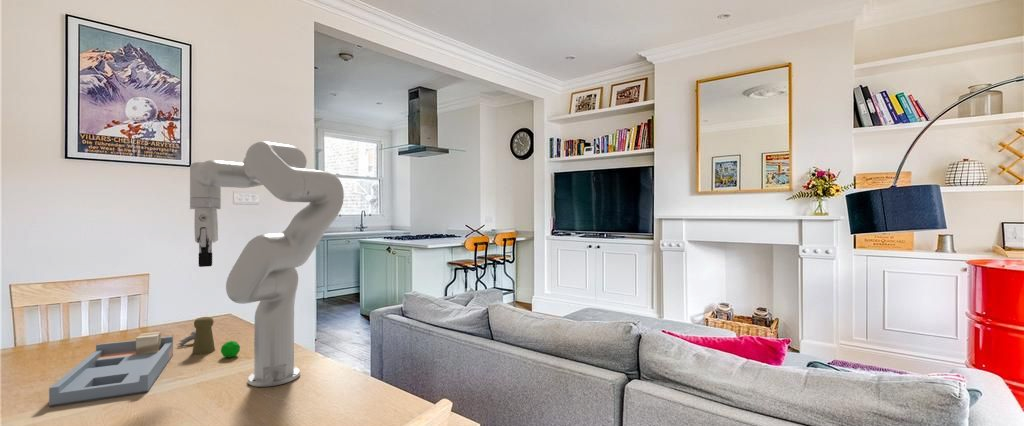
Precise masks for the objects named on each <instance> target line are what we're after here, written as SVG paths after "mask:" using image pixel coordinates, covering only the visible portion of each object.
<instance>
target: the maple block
mask: <svg viewBox="0 0 1024 426" xmlns="http://www.w3.org/2000/svg"><path fill="white" fill-rule="evenodd" d="M161 337H162V331H157V332H153V331H152V332H144V333H139V334H138V335H137V336H136V337H135V340H136V355H140V354H149V353H157V352H158V351H159V350H160V349H161Z"/></svg>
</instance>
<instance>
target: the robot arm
mask: <svg viewBox="0 0 1024 426" xmlns="http://www.w3.org/2000/svg"><path fill="white" fill-rule="evenodd" d="M307 161H308V160H307V157H306V155H305V153H304V152H303V151H302V150H301V149H299V148H298V147H296V146H294V145H290V144H284V143H277V142H271V141H264V140H263V141H257V142H255V143H253V144H251V145H250V147H249V148H248V149H247V150H246V152H245V157H244V159H243V161H242V162H238V161H237V162H236V161H227V160H218V159H217V160H216V159H211V160H205V161H198V162H192V163H191V164H190V166H189V209H190V210H194V223H193V224H194V241H195V243H197V244H198V267H200V268H201V267H212V266H213V251H212V249H213V248H212V247H213V243H216V242H217V241H218V240H219V233H218V232H219V228H218V227H219V226H218V225H219V224H218V210H221V209H222V208H221V207H222V206H221V204H222V203H221V202H222V199H221V197H222V196H221V193H222V191H221V190H222V188H240V189H246V188H254V187H260V186H264V188H266V190H267V191H269V193H271V195H272V196H274V197H275V198H276V199H278V200H280V201H283V202H287V203H309V204H308V205H306V206H305V207H303V208H302V209H301V210H299V211H298V212H297V213H295V215H294V216H293V218H292V219H291V221H290V223H289V224H288V226H287V227H286V228H285V229H284V230H283V231H281V232H278V233H277V232H275V233H274V232H273V233H264V234H260V235H256V236H255V237H253V238H251V239H250V240H249V241H248V242H247V243H246V245H245V246H244V248H243V249H242V251H241V253H239V254H240V255H239V257H238V258H237V260H236V261H235V263H234V265H233V266H232V267H231V268H232V269H231V270H230V272H229V274H228V276H227V279H226V282H225V292H226V295H227V296H228V298H229V300H230V301H232V302H233V303H236V304H241V305H242V304H251V303H256V302H259V303H258V305H257V307H256V309H255V313H254V327H253V329H254V334H253V335H254V339H253V340H254V343H253V345H254V346H253V347H254V349H253V350H254V354H253V355H254V357H253V358H254V360H253V363H254V367H253V368H254V369H253V371H254V372H252V373H251V374H249V376H248V377H247V383H248V385H250V386H252V387H259V388H260V387H267V388H268V387H273V386H274V387H275V386H279V385H283V384H287V383H290V382H293V381H294V380H296V379H297V378H299V377H300V375H301V370H300V368H299V367H296V366H295V302H296V301H295V300H296V295H297V290H298V285H299V273H298V270H297V269H296V268H299V267H302V266H303V265H305V263H306V262H307V261H309V260H308V259H309V258H310V257H311V255H312V253H313V252H314V250H315V249H316V247H317V246H318V245H319V243H320V242H321V239H322V238H323V236H324V234H325V233H326V232H327V230H328V229H329V228H330V226H331V225H332V223H333V222H334V221H335V220H336V218H337V217H338V215H339V213H340V212H341V210H342V208H343V205H344V204H343V203H344V196H345V193H344V192H345V191H344V188H343V187H344V186H343V183H342V181H341V180H340V179H339V178H338V177H337V176H336V175H335V174H333V173H331V172H328V171H325V170H324V171H323V170H320V169H319V170H317V169H311V168H310V169H309V168H306V166H307Z"/></svg>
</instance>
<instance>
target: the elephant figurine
mask: <svg viewBox="0 0 1024 426" xmlns="http://www.w3.org/2000/svg"><path fill="white" fill-rule="evenodd" d="M195 333H196V330H194V331H192V332H191V333H190V335H188V336H186V337H185V338H183V339H181V340H179V342H178V345H179V346H180V347H183V346H184V345H185V344H187V343H189V342H190V341H194V339H195Z"/></svg>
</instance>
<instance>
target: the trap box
mask: <svg viewBox="0 0 1024 426" xmlns="http://www.w3.org/2000/svg"><path fill="white" fill-rule="evenodd" d="M172 357H174V336H173V335H172V336H161V349H160V350H159V351H158V352H157V353H149V354H140V355H136V339H135V340H134V339H133V340H124V341H116V342H115V341H113V342H105V343H97V344H96V345H95V350H94V351H93V352H92V353H91V354H89V355H88V356H87V357H85V358H84V359H83V360H82V361H81V362H79V363H78V364H77V365H76V366H75V367H73V368H72V369H71V370H69V372H67V373H66V374H65V375H63V376H62V377H61V378H60V379H58V380H57V381H56V382H55V383H53V385H51V386H50V387H49V390H48V391H49V392H48V393H49V394H48V396H49V398H48V402H49V403H48V404H49V405H48V407H49V408H54V407H61V406H66V405H67V406H68V405H73V404H74V405H75V404H80V403H87V402H94V401H101V400H107V399H113V398H120V397H127V396H133V395H140V394H146V393H149V392H150V391H151V388H152V387H153V385H154V384H155V383H156V381H157V380H158V378H159V377H160V375H161V374H162V372H163V371H164V370H165V368H166V366H167V365H168V364H169V362H170V360H171V359H172Z"/></svg>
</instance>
